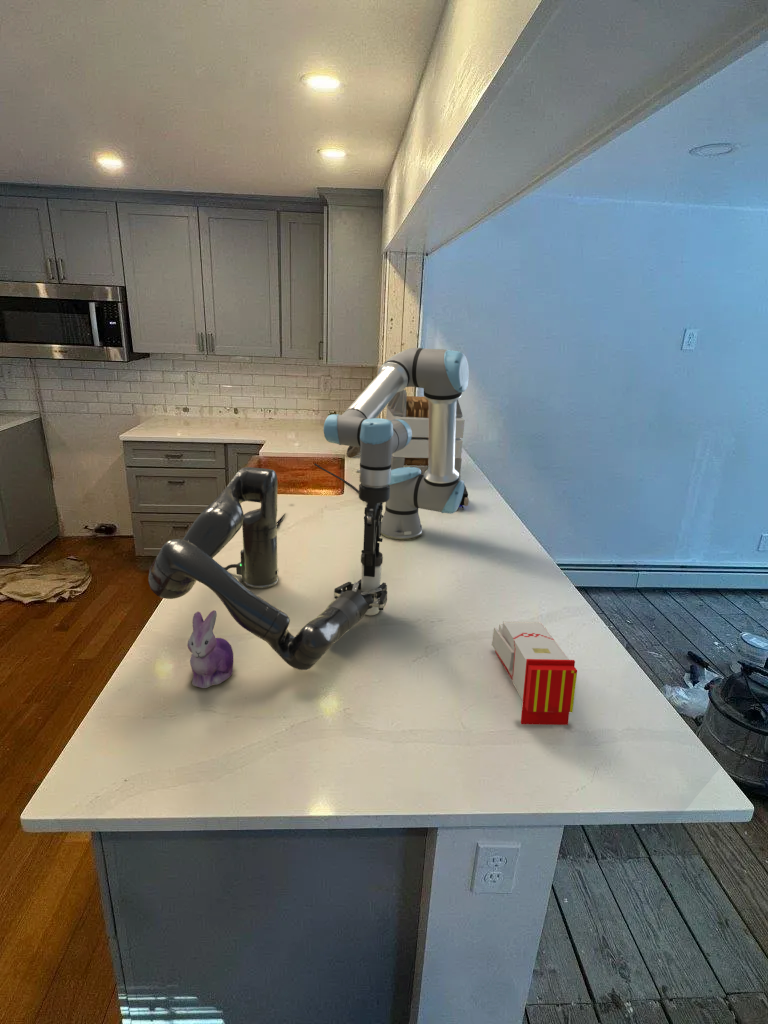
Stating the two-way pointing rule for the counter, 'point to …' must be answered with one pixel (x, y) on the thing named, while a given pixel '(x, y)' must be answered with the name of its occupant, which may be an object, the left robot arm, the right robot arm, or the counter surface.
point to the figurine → (209, 653)
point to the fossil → (353, 451)
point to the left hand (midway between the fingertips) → (375, 583)
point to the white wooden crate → (419, 430)
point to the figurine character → (464, 499)
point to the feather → (280, 520)
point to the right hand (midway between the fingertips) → (371, 570)
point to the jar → (371, 586)
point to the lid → (378, 558)
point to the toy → (537, 671)
